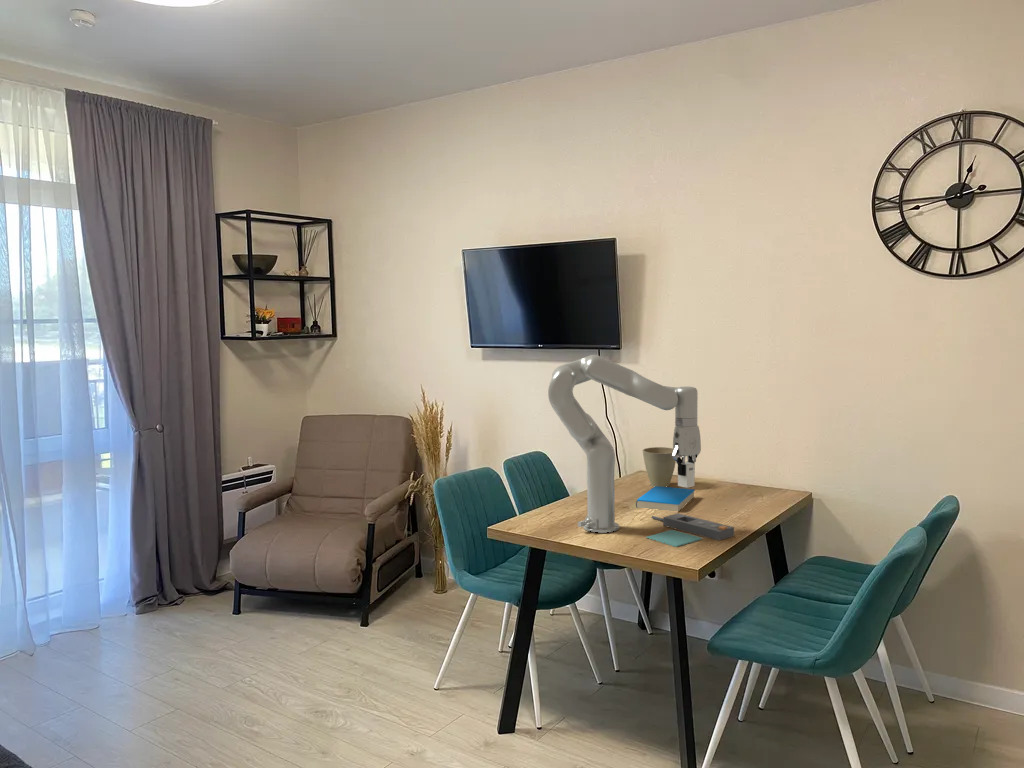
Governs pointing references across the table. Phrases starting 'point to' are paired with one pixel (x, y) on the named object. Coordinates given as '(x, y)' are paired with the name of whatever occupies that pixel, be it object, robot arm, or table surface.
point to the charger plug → (687, 476)
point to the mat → (674, 538)
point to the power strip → (697, 526)
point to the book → (665, 498)
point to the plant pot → (659, 465)
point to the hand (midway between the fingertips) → (686, 473)
